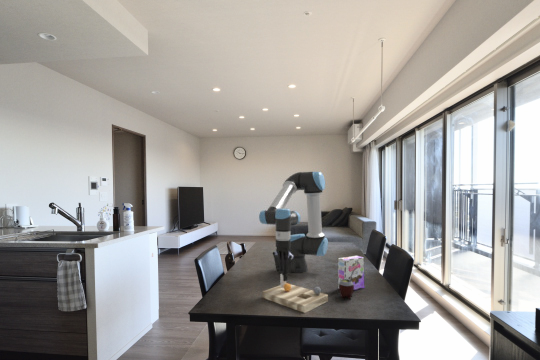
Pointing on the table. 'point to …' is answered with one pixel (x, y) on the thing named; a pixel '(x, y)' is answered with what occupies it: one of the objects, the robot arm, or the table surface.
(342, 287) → the mate gourd
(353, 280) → the candy box
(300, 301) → the deck
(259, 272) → the table surface
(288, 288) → the orange ball
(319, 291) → the grey ball
